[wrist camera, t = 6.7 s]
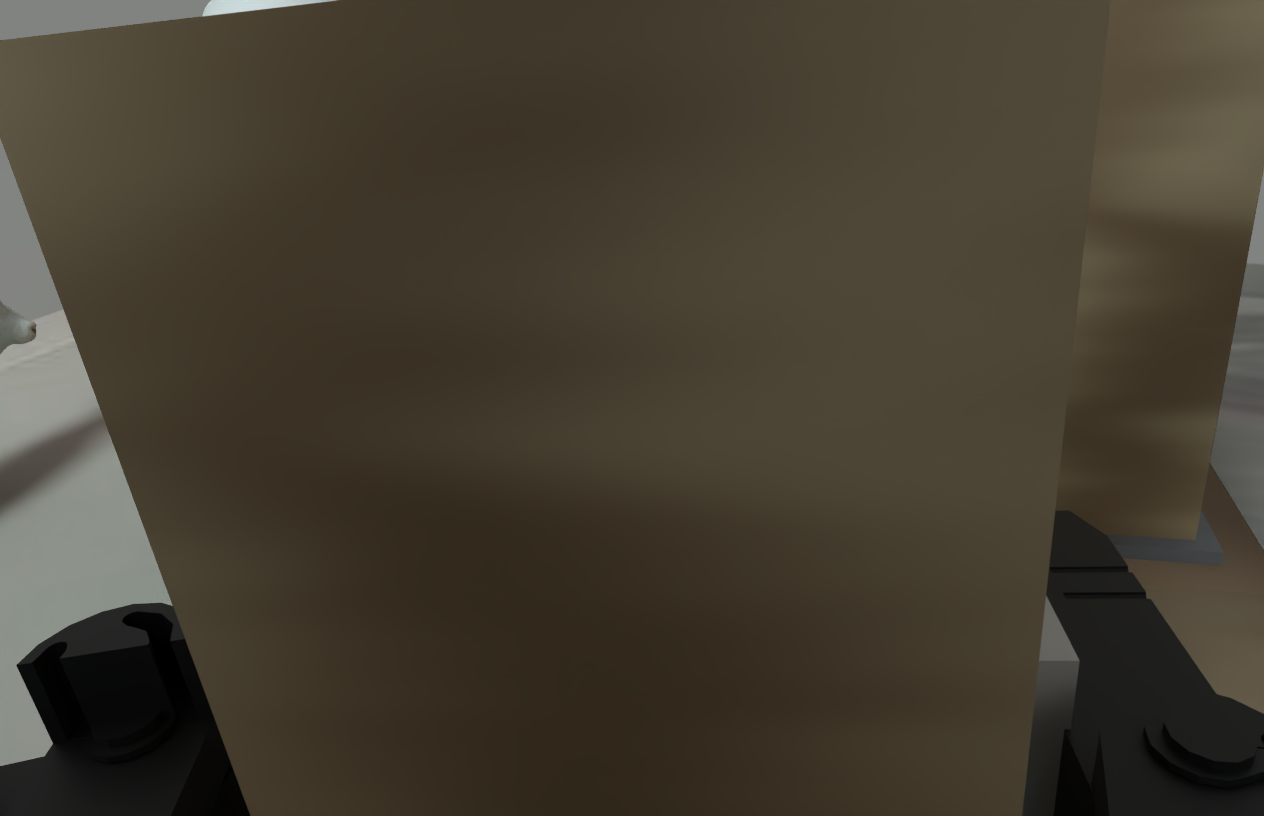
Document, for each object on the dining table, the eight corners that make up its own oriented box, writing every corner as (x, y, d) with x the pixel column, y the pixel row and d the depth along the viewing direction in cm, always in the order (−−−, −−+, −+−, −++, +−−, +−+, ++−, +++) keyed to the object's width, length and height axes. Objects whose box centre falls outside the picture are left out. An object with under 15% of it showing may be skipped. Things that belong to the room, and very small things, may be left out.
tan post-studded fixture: (1094, 362, 35) (1154, -143, 28) (1261, 721, 17) (1530, -385, 10) (541, 355, 42) (482, -45, 35) (270, 601, 25) (52, -93, 18)
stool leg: (881, 989, 13) (907, -26, 8) (948, 1489, 9) (1120, -92, 3) (563, 970, 14) (381, 33, 9) (473, 1421, 10) (-35, 44, 4)
